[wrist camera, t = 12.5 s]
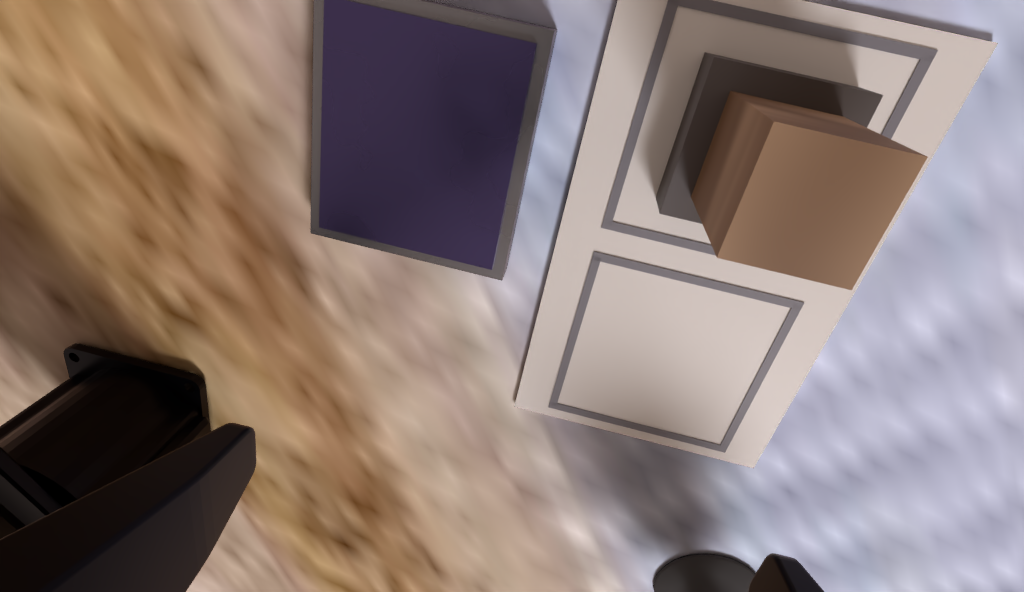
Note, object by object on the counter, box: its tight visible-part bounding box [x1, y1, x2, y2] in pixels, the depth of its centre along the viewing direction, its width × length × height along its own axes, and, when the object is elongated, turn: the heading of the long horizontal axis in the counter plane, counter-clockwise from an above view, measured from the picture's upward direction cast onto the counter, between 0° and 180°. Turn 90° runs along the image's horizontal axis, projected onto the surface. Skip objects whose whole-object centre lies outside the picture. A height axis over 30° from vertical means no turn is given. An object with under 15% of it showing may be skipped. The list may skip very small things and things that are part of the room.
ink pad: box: [311, 0, 557, 280], centre depth 18 cm, size 7×8×1 cm
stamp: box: [656, 52, 928, 290], centre depth 14 cm, size 4×4×6 cm
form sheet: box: [514, 0, 998, 468], centre depth 19 cm, size 10×16×1 cm, turn 169°
